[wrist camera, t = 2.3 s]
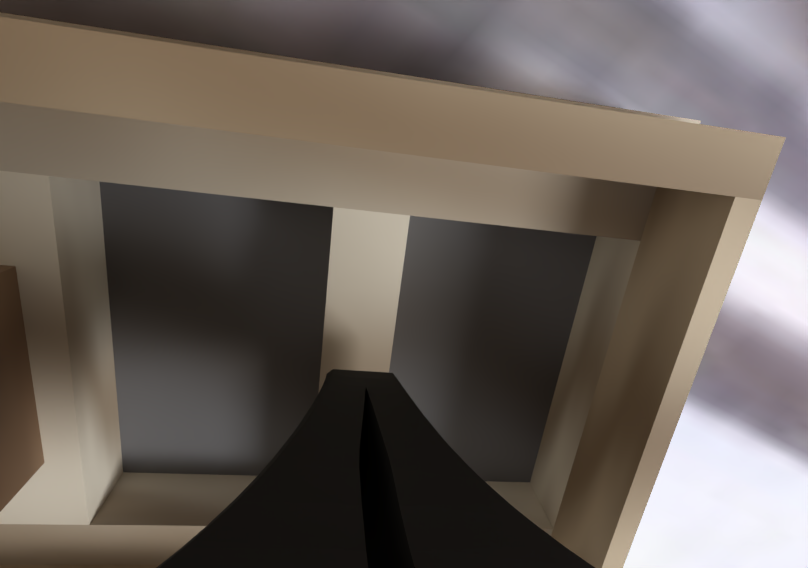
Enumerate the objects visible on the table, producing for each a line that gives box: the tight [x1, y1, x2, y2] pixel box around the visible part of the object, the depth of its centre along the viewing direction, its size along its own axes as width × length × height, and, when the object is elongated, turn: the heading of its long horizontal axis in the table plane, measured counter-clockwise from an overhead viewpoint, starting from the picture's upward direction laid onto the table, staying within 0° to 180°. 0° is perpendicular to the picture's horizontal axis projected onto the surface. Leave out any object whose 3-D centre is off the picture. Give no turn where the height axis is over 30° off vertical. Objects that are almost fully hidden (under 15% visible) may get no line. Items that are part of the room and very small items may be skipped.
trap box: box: [0, 12, 786, 568], centre depth 9 cm, size 13×24×4 cm, turn 82°
